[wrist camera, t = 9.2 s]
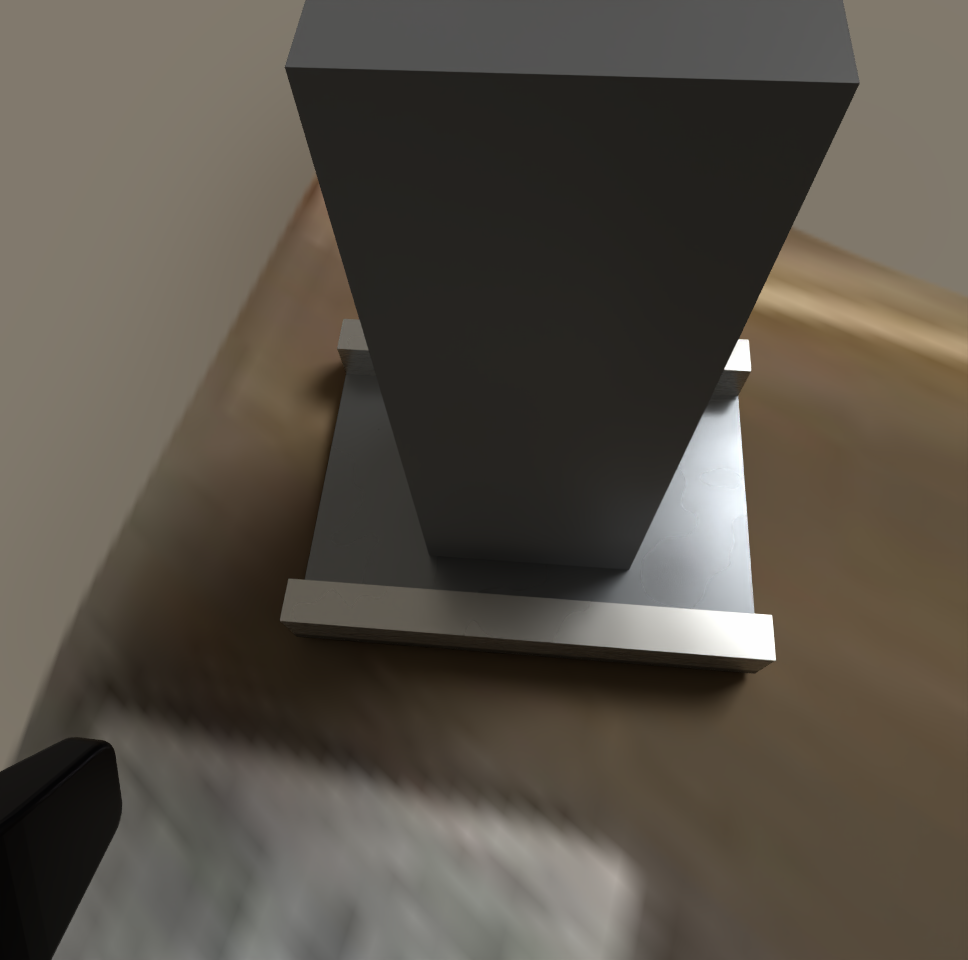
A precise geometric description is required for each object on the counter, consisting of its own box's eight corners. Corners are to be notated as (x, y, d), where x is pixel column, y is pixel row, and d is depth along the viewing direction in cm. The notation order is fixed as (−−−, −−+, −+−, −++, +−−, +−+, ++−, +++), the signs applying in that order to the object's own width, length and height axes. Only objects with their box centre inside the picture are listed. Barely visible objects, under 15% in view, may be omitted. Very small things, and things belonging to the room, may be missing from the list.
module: (629, 569, 18) (920, -46, 5) (429, 555, 18) (247, -57, 6) (629, 397, 20) (835, -334, 7) (450, 387, 20) (353, -329, 8)
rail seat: (754, 673, 17) (775, 660, 16) (297, 636, 18) (279, 620, 16) (732, 371, 21) (748, 339, 19) (354, 351, 21) (343, 318, 20)
